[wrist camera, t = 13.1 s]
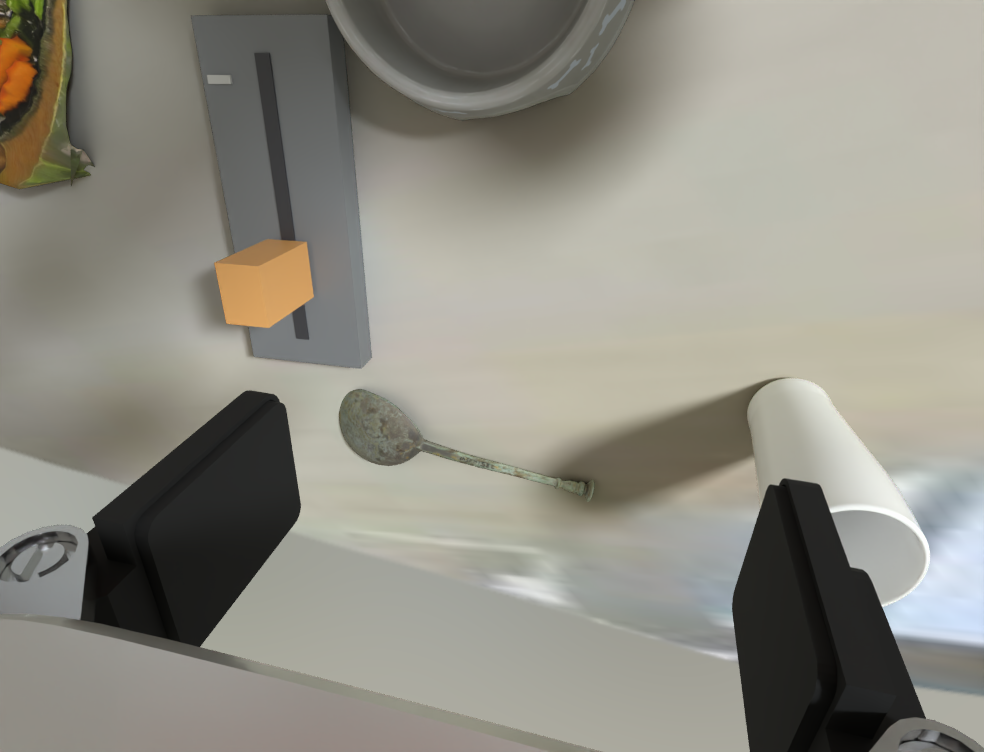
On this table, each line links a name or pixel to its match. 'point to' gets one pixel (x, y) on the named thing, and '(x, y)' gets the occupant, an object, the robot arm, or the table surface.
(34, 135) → the prepared meal
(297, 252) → the fader knob
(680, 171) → the table surface
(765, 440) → the drinking glass
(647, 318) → the table surface
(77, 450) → the table surface
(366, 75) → the table surface
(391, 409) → the soupspoon
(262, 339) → the fader console
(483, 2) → the dog bowl
